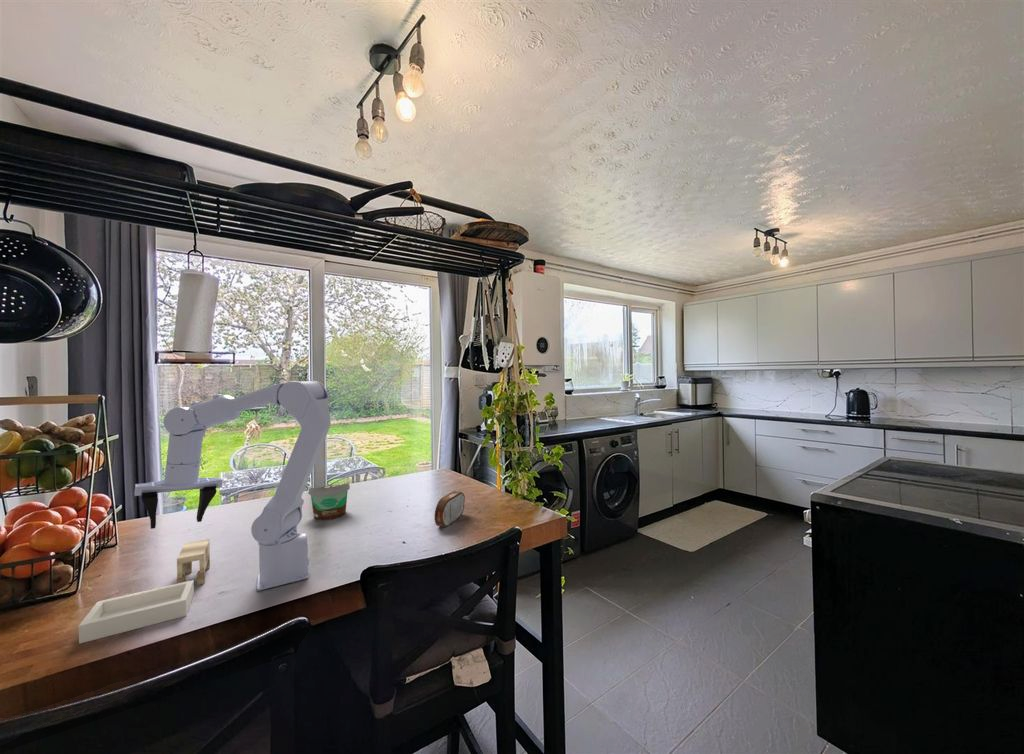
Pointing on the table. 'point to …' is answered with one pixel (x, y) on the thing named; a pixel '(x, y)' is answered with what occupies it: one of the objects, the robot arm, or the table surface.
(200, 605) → the table surface
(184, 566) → the wooden toy bench
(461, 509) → the tin
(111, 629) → the tray
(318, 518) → the food container
